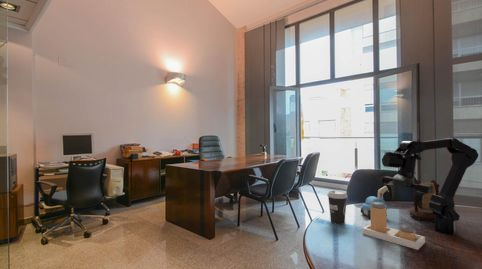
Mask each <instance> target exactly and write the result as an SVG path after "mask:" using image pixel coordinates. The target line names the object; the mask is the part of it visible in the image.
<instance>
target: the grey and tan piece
mask: <svg viewBox="0 0 482 269" xmlns="http://www.w3.org/2000/svg"><path fill="white" fill-rule="evenodd" d="M398 228H399V229H397V230H398V231H399V237H400V238H403V239H407V240H411V241H414V242H416V235H417V234H416V228H415V226H412V225H410V224H399V227H398Z"/></svg>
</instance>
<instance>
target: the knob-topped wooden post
mask: <svg viewBox="0 0 482 269" xmlns="http://www.w3.org/2000/svg"><path fill="white" fill-rule="evenodd" d="M385 206H386V203H385V204H384V203H380V202H372V206H370V211H371V218H370V224H371V230H374V231H378V232H381V233H386V232H387V227H388V226H387V224H388V223H387V217H386V213H387V210H386V208H385Z"/></svg>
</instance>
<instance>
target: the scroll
mask: <svg viewBox="0 0 482 269" xmlns="http://www.w3.org/2000/svg"><path fill="white" fill-rule="evenodd" d="M413 184H417V185H418V184H426V185H430V186H432V188H433V190H432V192H431V193H428V194H424V195H423V196H422V198H421V199H420V201H419V202H418V204H417V205H416V206H414V207H413V208H412V209H410V210H409V215H410V216H412V217H414V218H416V219H419V221H420V222H422V221H423V220H426V221H433V222H434V219H435V218H436V215H433V213H432V211H431V209H430V207H429V201H430V199H431V196H432V195H433V194H434V195H437V194H439V193H440V183H437V182H436V180H434V179H431V181H430V182H422V181H421V180H420V179H417V180H416V181H415V182H414V183H413ZM413 190H414V192H413V196H414V201H415V197H416V191H418V190H417V189H415V188H413Z"/></svg>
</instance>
